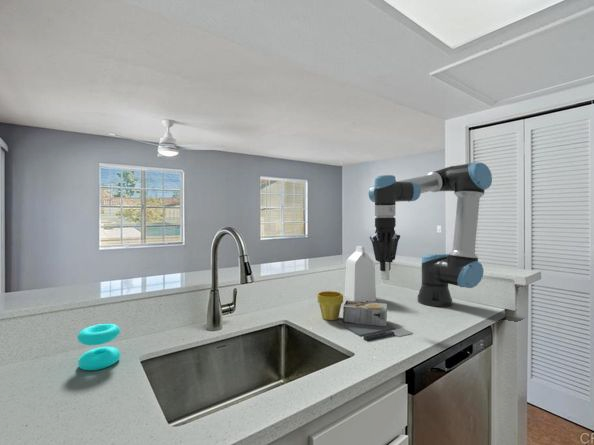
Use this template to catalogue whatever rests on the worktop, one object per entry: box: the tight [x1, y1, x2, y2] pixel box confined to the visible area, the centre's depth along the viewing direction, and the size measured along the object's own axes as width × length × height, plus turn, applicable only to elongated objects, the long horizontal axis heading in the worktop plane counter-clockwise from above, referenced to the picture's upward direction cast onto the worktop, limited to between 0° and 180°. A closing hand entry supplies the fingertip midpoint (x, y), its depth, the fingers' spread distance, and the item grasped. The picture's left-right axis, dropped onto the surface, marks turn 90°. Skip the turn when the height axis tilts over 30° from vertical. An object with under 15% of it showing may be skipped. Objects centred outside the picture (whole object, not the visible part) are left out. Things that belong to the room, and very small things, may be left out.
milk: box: [343, 245, 377, 302], centre depth 157 cm, size 12×12×26 cm
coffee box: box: [342, 300, 388, 326], centre depth 123 cm, size 9×6×16 cm
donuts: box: [77, 323, 121, 371], centre depth 88 cm, size 10×10×10 cm
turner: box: [363, 327, 414, 342], centre depth 109 cm, size 19×5×1 cm, turn 116°
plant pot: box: [316, 290, 344, 321], centre depth 128 cm, size 10×10×10 cm
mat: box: [336, 320, 396, 337], centre depth 118 cm, size 16×14×1 cm
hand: (385, 279), depth 119 cm, fingers closed
